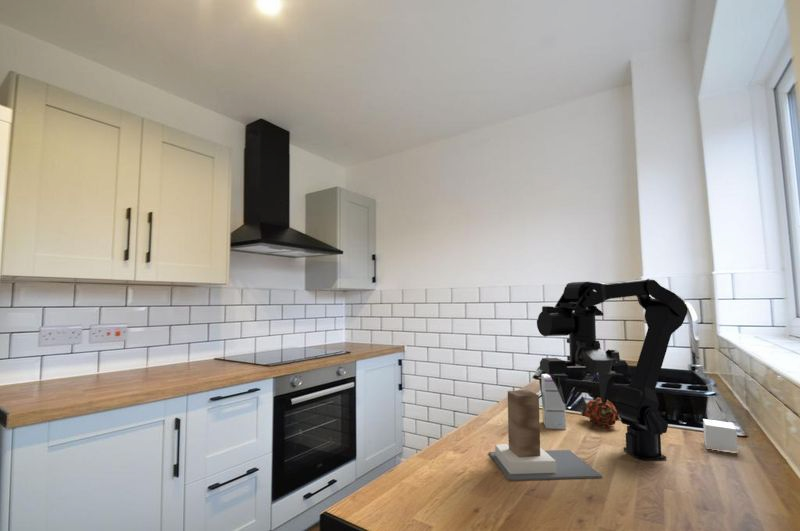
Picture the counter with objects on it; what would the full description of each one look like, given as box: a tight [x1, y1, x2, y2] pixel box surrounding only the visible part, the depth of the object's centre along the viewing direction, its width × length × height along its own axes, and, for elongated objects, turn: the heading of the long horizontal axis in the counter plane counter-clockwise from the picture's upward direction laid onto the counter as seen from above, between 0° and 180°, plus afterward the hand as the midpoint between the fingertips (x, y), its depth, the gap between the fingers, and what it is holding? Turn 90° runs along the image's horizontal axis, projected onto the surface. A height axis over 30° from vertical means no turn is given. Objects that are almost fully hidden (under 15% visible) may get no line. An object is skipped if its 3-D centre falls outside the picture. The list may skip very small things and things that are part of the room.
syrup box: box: [540, 373, 567, 430], centre depth 116 cm, size 6×6×14 cm
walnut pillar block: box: [507, 389, 541, 458], centre depth 89 cm, size 5×5×13 cm
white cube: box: [702, 418, 739, 453], centre depth 99 cm, size 6×6×6 cm
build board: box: [488, 443, 603, 481], centre depth 89 cm, size 20×14×3 cm
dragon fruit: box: [580, 397, 621, 429], centre depth 117 cm, size 8×8×12 cm
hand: (584, 403), depth 92 cm, fingers open, 9 cm apart
